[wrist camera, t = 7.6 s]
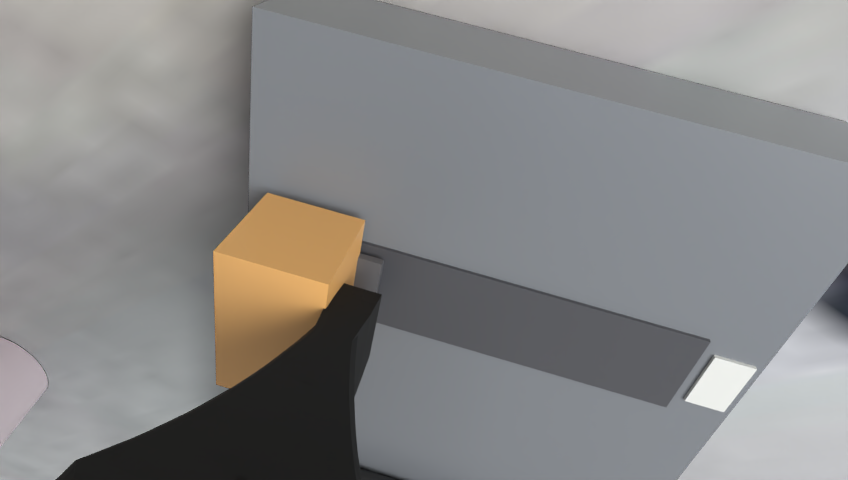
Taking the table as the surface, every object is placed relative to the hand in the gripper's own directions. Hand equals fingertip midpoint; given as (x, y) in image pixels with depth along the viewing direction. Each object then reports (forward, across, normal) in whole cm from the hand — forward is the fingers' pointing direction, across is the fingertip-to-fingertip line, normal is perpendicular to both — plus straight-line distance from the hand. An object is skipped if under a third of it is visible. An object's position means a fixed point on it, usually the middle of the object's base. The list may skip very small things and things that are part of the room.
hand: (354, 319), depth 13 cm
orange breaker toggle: (+1, +2, 0) cm, 2 cm away
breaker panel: (+4, -3, +6) cm, 8 cm away
